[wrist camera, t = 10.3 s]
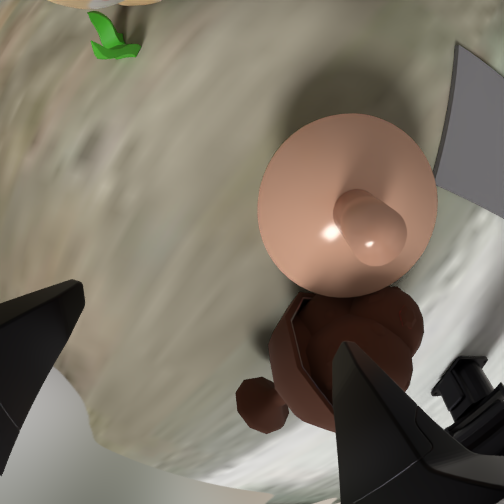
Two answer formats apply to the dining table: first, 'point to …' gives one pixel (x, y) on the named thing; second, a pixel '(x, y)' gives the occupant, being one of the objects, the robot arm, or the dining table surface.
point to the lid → (347, 205)
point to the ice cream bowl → (329, 354)
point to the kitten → (107, 27)
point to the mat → (473, 134)
